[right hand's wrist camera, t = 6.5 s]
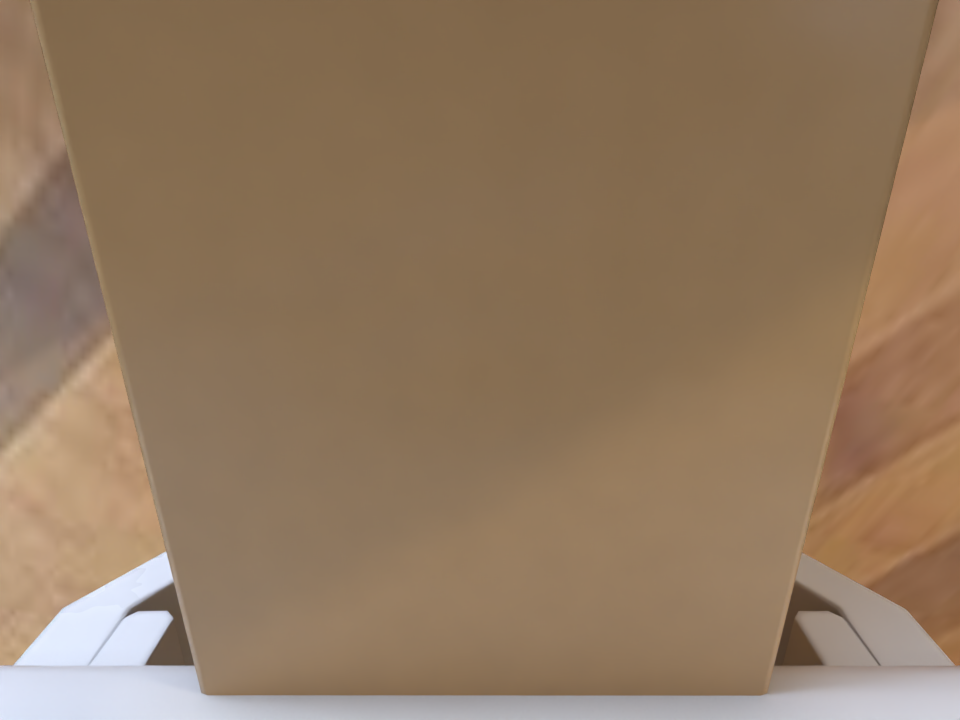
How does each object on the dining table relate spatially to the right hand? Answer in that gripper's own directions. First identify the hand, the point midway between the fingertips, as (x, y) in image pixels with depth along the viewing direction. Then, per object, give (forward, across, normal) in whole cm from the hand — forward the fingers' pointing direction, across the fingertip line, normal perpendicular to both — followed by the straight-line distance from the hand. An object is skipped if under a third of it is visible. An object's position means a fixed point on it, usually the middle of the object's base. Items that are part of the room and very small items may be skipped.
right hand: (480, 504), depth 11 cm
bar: (+3, 0, -10) cm, 11 cm away
